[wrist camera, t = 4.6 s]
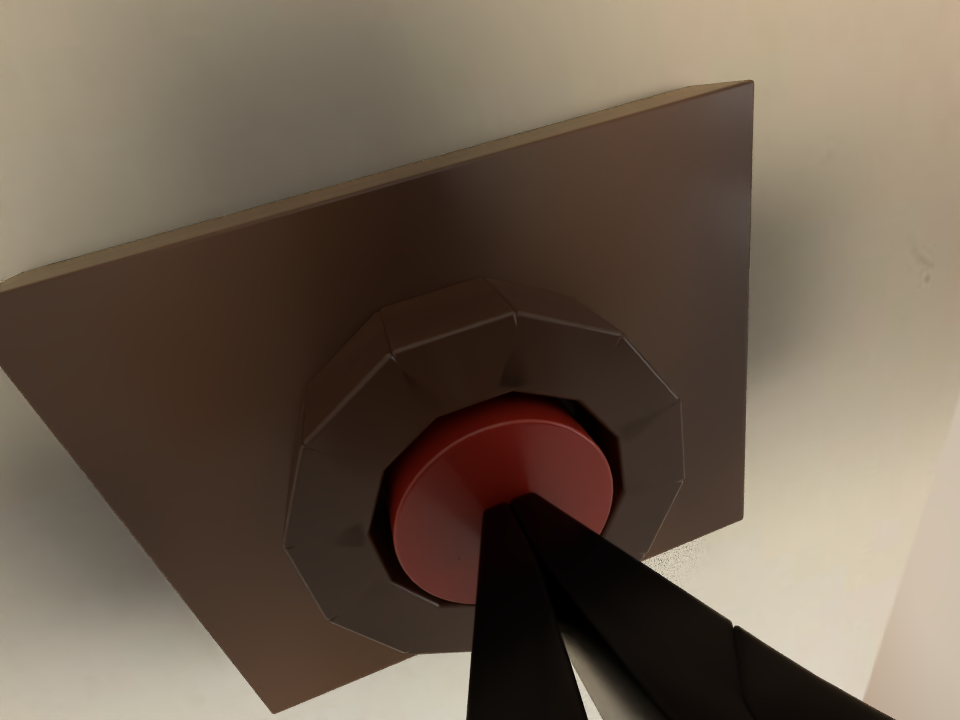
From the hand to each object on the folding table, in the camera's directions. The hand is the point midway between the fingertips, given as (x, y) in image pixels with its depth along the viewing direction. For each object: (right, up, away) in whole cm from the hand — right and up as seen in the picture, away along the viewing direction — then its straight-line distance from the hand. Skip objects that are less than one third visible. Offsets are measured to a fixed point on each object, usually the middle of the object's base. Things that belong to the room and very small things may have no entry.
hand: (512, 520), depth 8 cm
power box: (-1, +1, +3) cm, 4 cm away
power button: (0, +1, +2) cm, 2 cm away
